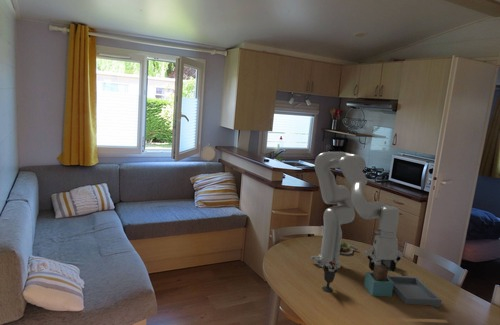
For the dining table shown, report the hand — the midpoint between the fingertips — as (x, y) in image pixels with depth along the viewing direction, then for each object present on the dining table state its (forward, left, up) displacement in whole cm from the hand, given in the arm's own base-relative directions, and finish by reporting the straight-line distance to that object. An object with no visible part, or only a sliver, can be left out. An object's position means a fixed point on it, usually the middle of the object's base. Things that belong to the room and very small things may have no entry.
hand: (381, 269), depth 157 cm
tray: (+16, 0, -11) cm, 19 cm away
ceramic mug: (+16, +27, -12) cm, 33 cm away
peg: (0, 0, -10) cm, 10 cm away
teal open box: (0, 0, -11) cm, 11 cm away
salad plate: (-3, +48, -12) cm, 50 cm away
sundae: (-23, +1, -12) cm, 26 cm away
